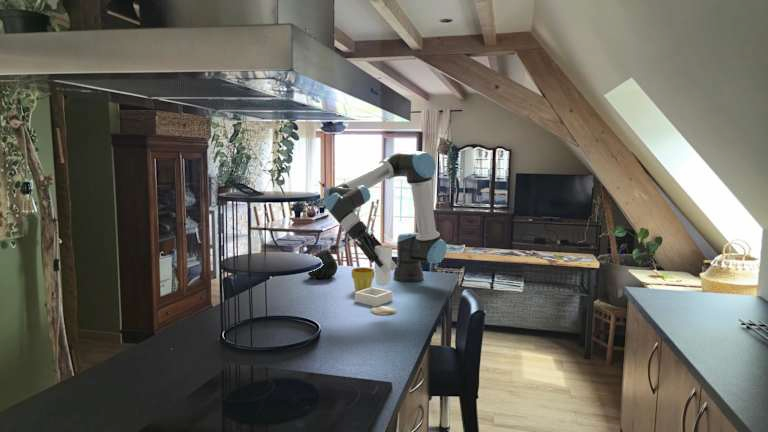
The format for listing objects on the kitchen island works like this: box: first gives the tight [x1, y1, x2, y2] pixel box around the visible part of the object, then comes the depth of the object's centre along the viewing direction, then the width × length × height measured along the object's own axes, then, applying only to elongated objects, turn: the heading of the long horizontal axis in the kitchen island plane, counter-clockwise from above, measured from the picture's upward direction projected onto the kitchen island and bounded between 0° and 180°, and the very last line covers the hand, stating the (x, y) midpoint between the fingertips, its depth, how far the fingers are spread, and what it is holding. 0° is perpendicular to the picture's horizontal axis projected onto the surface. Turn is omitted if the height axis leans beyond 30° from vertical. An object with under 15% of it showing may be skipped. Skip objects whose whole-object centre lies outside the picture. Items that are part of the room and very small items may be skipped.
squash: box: [307, 249, 338, 279], centre depth 255 cm, size 14×15×15 cm
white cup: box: [374, 244, 393, 287], centre depth 198 cm, size 7×7×15 cm
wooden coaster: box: [370, 305, 397, 316], centre depth 201 cm, size 10×10×1 cm
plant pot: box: [351, 267, 375, 292], centre depth 231 cm, size 10×10×10 cm
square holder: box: [354, 286, 393, 307], centre depth 215 cm, size 11×11×4 cm
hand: (391, 270), depth 197 cm, fingers closed on white cup, 7 cm apart
